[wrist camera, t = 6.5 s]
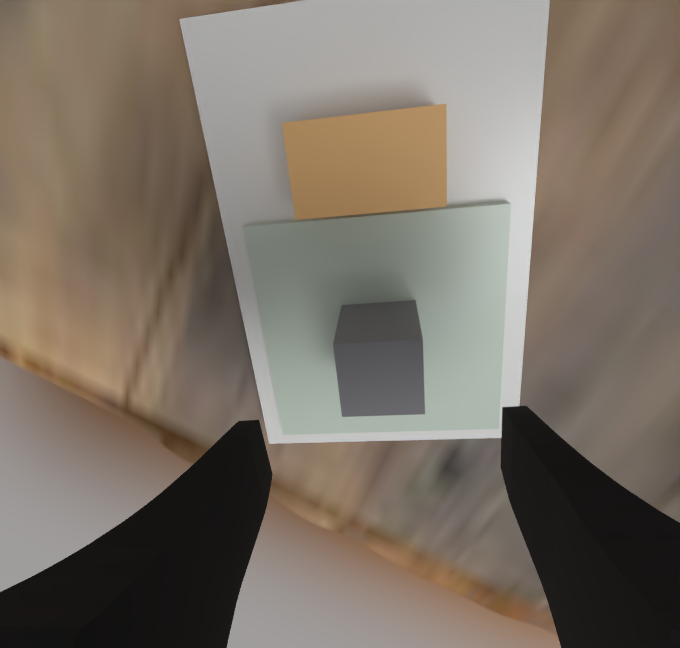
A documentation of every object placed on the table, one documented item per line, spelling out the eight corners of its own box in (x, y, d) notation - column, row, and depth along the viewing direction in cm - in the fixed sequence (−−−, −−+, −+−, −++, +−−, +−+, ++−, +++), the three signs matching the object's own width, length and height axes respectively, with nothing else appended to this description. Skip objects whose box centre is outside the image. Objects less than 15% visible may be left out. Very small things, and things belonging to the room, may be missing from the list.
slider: (295, 122, 16) (281, 122, 14) (437, 105, 15) (446, 103, 13) (306, 207, 17) (295, 219, 15) (438, 195, 16) (446, 206, 14)
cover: (506, 201, 16) (542, 224, 13) (495, 420, 21) (520, 487, 17) (247, 223, 18) (210, 251, 14) (285, 427, 22) (265, 490, 18)
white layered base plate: (201, 30, 17) (179, 19, 15) (532, -19, 15) (552, -38, 13) (277, 419, 24) (269, 443, 22) (506, 411, 23) (517, 437, 21)
